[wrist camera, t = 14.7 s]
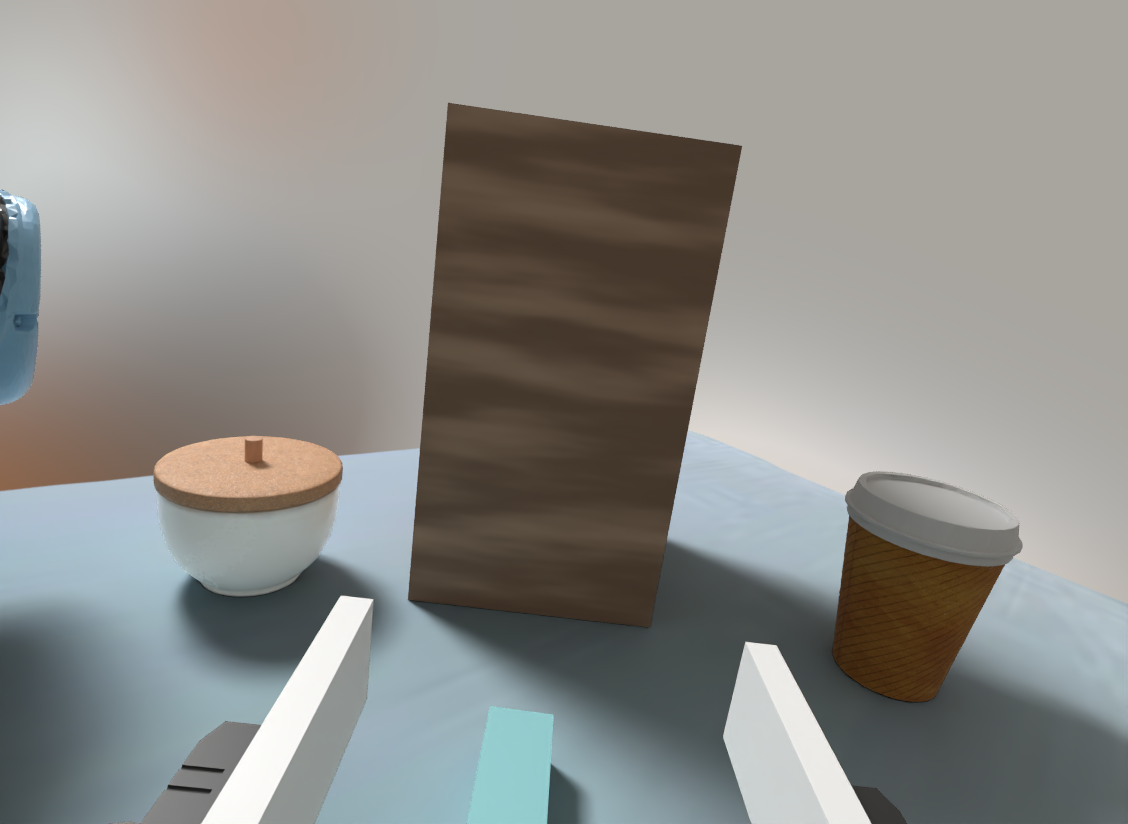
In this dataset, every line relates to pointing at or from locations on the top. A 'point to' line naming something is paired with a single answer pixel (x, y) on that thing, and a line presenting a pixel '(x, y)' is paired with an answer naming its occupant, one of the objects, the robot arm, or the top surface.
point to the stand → (562, 360)
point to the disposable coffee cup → (915, 579)
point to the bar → (513, 769)
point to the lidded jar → (247, 510)
